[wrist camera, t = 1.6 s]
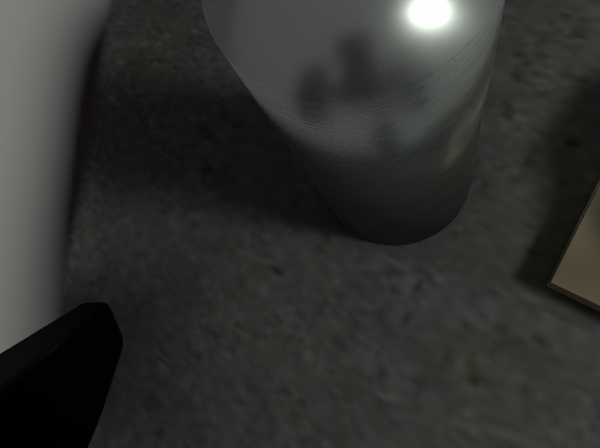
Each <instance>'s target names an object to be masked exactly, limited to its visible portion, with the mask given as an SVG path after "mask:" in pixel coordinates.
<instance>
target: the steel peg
mask: <svg viewBox="0 0 600 448" xmlns="http://www.w3.org/2000/svg"><path fill="white" fill-rule="evenodd" d="M201 1H202V7H203V13H204V16H205V19H206V22H207V25H208V29H209V31H210V33H211V34H212V36H213V38H214V40H215V42H216V44H217V45H218V47H219V48H220V50H221V51H222V53H223V54H224V56H225V57H226V58H227V60H228V61H229V63H230V64H231V66H232V67H233V68H234V70H235V71H236V73H237V74H238V76H239V77H240V79H241V80H242V81H243V83H244V84H245V86H246V87H247V89H248V90H249V91H250V93H251V94H252V96H253V97H254V99H255V100H256V102H257V103H258V104H259V106H260V107H261V109H262V110H263V112H264V113H265V114H266V116H267V117H268V119H269V120H270V122H271V123H272V124H273V126H274V127H275V129H276V130H277V132H278V133H279V135H280V136H281V137H282V139H283V140H284V142H285V143H286V145H287V146H288V147H289V149H290V150H291V152H292V153H293V155H294V156H295V158H296V159H297V160H298V162H299V163H300V165H301V166H302V168H303V169H304V170H305V172H306V173H307V175H308V176H309V178H310V179H311V181H312V182H313V183H314V185H315V186H316V188H317V189H318V191H319V192H320V193H321V195H322V196H323V198H324V199H325V201H326V202H327V203H328V205H329V206H330V208H331V209H332V211H333V212H334V214H335V215H336V216H337V218H338V219H339V220H340V222H341V223H342V224H343V225H344V226H345V227H346V228H348V229H349V230H350V231H351V232H353V233H354V234H356V235H358V236H359V237H361V238H363V239H366V240H368V241H370V242H374V243H378V244H383V245H407V244H412V243H416V242H420V241H422V240H425V239H428V238H429V237H431V236H433V235H435V234H437V233H438V232H440V231H441V230H442V229H444V228H445V227H446V226H447V225H448V224H449V223H450V222H452V220H453V219H454V218H455V217H456V216H457V214H458V213H459V211H460V210H461V208H462V206H463V205H464V202H465V200H466V198H467V195H468V191H469V188H470V183H471V178H472V172H473V167H474V162H475V157H476V151H477V146H478V141H479V136H480V130H481V125H482V120H483V114H484V109H485V104H486V99H487V93H488V88H489V83H490V78H491V72H492V67H493V62H494V57H495V51H496V46H497V41H498V36H499V30H500V25H501V20H502V15H503V9H504V4H505V0H201Z"/></svg>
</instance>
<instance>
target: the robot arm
mask: <svg viewBox="0 0 600 448" xmlns="http://www.w3.org/2000/svg"><path fill="white" fill-rule="evenodd" d="M122 348H123V337H122V334H121V331H120V329H119V327H118V325H117V322H116V320H115V318H114V315H113V313H112V311H111V309H110V307H109V306H108V305H107V304H106V303H103V302H91V303H83V304H81V305H79V306H78V307H76V308H75V309H73V310H71V311H70V312H68V313H66V314H65V315H63V316H61V317H60V318H58V319H57V320H55V321H53V322H52V323H50V324H48V325H47V326H45V327H43V328H42V329H40V330H39V331H37V332H35V333H34V334H32V335H31V336H29V337H27V338H25V339H24V340H22V341H21V342H19V343H17V344H16V345H14V346H12V347H11V348H9V349H7V350H6V351H4V352H3V353H1V354H0V448H87V447H88V445H89V443H90V441H91V438H92V436H93V434H94V431H95V429H96V426H97V424H98V421H99V418H100V415H101V413H102V410H103V407H104V404H105V401H106V398H107V395H108V391H109V388H110V385H111V382H112V379H113V376H114V373H115V370H116V367H117V364H118V361H119V358H120V355H121V352H122Z"/></svg>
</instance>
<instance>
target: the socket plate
mask: <svg viewBox="0 0 600 448" xmlns="http://www.w3.org/2000/svg"><path fill="white" fill-rule="evenodd" d="M546 286H547V287H549V288H551V289H553V290H555V291H557V292H559V293H561V294H563V295H565V296H567V297H570V298H572V299H574V300H576V301H578V302H580V303H582V304H584V305H586V306H588V307H590V308H592V309H595V310H597V311H599V312H600V179H599V181H598V183H597V185H596V187H595V189H594V191H593V193H592V195H591V197H590V199H589V201H588V203H587V205H586V207H585V209H584V211H583V213H582V215H581V217H580V219H579V221H578V223H577V225H576V227H575V229H574V231H573V233H572V235H571V236H570V238H569V240H568V242H567V244H566V246H565V248H564V250H563V252H562V254H561V256H560V258H559V260H558V262H557V264H556V266H555V268H554V270H553V272H552V274H551V276H550V278H549V280H548V282H547V284H546Z"/></svg>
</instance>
